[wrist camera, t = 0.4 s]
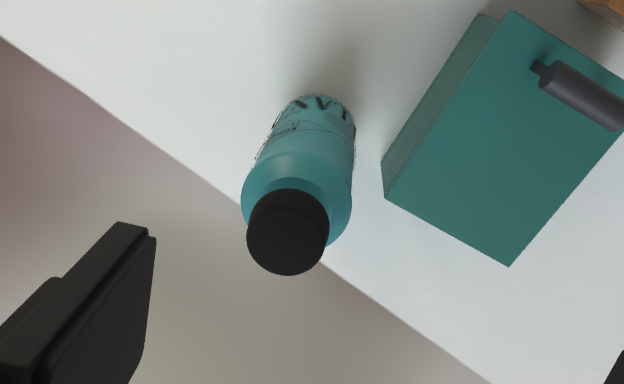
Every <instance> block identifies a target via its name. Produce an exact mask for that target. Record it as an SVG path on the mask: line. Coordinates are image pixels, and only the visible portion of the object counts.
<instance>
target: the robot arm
mask: <svg viewBox="0 0 624 384" xmlns="http://www.w3.org/2000/svg"><path fill="white" fill-rule="evenodd" d="M155 252H156V238H155V237H151V236H148V229H147V228H145V227H141V226H137V225H133V224H128V223H123V222H116V223H115V224H114V225H113V226H112V227H111V228H110V229H109V230H108V231H107V232H106V233H105V234H104V235H103V236H102V237H101V238H100V239H99V240H98V241H97V242H96V243H95V244H94V245H93V246H92V247H91V249H90V250H89V251H88V252H87V253H86V254H85V255H84V256H83V257H82V258H81V259H80V260H79V261H78V262H77V263H76V264H75V265H74V266H73V267H72V268H71V269H70V270H69V271H68V272H67V273H66V274H65V275H64V276H63V277H62V278H59V277H51V278H50V279H48V280H47V281H45V282H44V283H43V284H42V285H41V286H40V287H39V288H38V289H37V290H36V291H35V292H34V293H33V294H32V295H31V296H30V297H29V298H28V299H27V300H26V301H25V302H24V303H23V304H22V305H21V306H20V307H19V308H18V309H17V310H16V311H15V312H14V313H13V314H12V315H11V316H10V317H9V318H8V319H7V320H6V321H5V322H4V323H3V324H2V325H1V326H0V384H128V383H129V381H130V379H131V377H132V375H133V374H134V372H135V370H136V368H137V366H138V364H139V362H140V360H141V357H142V354H143V349H144V343H145V335H146V326H147V318H148V310H149V302H150V293H151V285H152V277H153V269H154V268H153V267H154V260H155ZM604 384H624V350H623V351H622V352H621V354H620V355H619V357H618V359H617V361H616V363H615V364H614V366H613V368H612V370H611V371H610V373H609V375H608V377H607V379H606V380H605V382H604Z"/></svg>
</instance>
